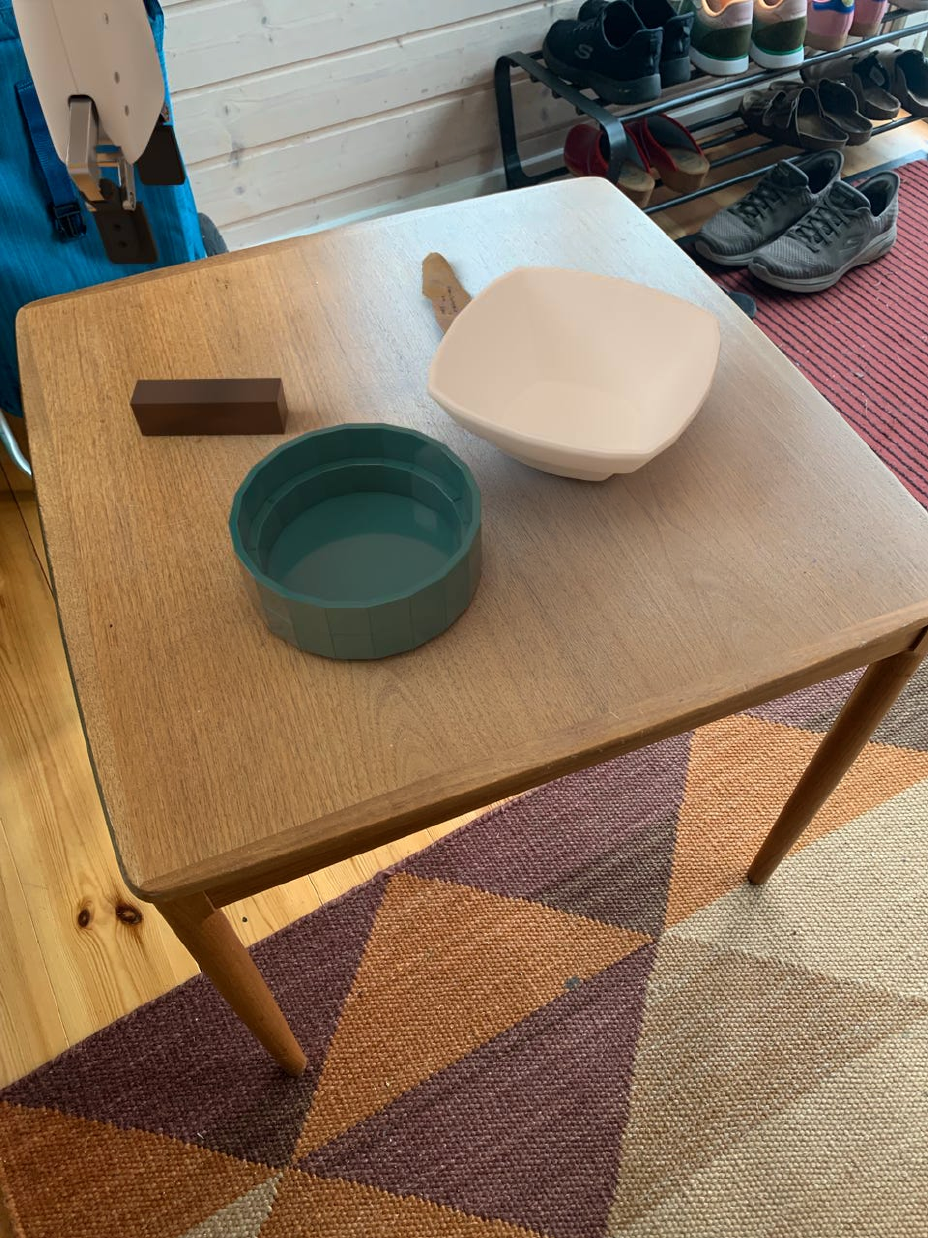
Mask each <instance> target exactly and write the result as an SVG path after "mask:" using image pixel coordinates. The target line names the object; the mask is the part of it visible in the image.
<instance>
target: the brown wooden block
mask: <svg viewBox="0 0 928 1238" xmlns="http://www.w3.org/2000/svg"><path fill="white" fill-rule="evenodd" d="M129 405H130V408H131V411H132V414H133V415H134V418H135V421H136V423H137V425H138V428H139V431H140V433H141V435H142V437H144V436H145V437H146V436H147V437H149V436H150V437H151V436H152V437H153V436H154V437H155V436H214V435H215V436H221V435H222V436H224V435H225V436H226V435H229V436H230V435H232V436H233V435H285V433H286V426H287V420H288V413H289V407H288V403H287V398H286V393H285V389H284V384H283V380H282V377H255V378H254V377H251V378H250V377H247V378H245V377H243V378H181V379H180V378H178V379H177V378H175V379H173V378H172V379H171V378H170V379H168V378H167V379H137V380H136V382H135V386H134V389H133V392H132V395H131V398H130V401H129Z"/></svg>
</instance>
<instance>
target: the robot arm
mask: <svg viewBox="0 0 928 1238" xmlns="http://www.w3.org/2000/svg"><path fill="white" fill-rule="evenodd" d="M11 5H12V8H13V13H14V17H15V21H16V25H17V29H18V33H19V38H20V40H21V45H22V48H23V53H24V55H25V58H26V61H27V65H28V69H29V71H30V77H31V78H32V81H33V85H34V88H35V91H36V95H37V97H38V101H39V104H40V107H41V110H42V113H43V116H44V119H45V122H46V126H47V128H48V131H49V134H50V137H51V140H52V143H53V146H54V148H55V151H56V154H57V155H58V158H59V159H60V161H61V162H62V163H63V164H65V167H66V170H67V174H68V175H69V177H70V178H71V179H72V181H73V183H74V184H75V185H76V187H77V193H78V195H79V196H80V197H81V199H82V200H83V201H84V202H85V203H84V204H85V206H86V208H87V210H88V211H89V212H91V215H92V217H93V220H94V223H95V226H96V228H97V231H98V234H99V237H100V240H101V242H102V245H103V247H104V251H105V254H106V256H107V259H108V261H109V262H110V263H111V264H113V265H155V264H157V263H158V261H159V259H160V253H159V249H158V247H157V243H156V240H155V237H154V234H153V231H152V227H151V223H150V221H149V218H148V214H147V211H146V208H145V205H144V201H142V200H141V201H138V200H137V197H136V186H135V175H134V174H135V173H134V165H135V169H136V172H137V175H138V178H139V181H140V183H141V184H142V185H144V186H146V187H151V186H183V185H185V182H186V179H187V175H186V171H185V168H184V167H185V166H184V165H183V161H182V156H181V153H180V148H179V145H178V142H177V138H176V135H175V134H176V133H175V130H174V125H173V124H170V123H171V111H170V108H169V105H168V103H167V101H166V100H165V93H166V89H165V81H164V76H163V71H162V66H161V62H160V58H159V57H160V56H159V53H158V50H157V46H156V42H155V39H154V35H153V31H152V28H151V24H150V20H149V17H148V13H147V10H146V7H145V6H146V5H145V3H144V0H11ZM98 146H115V147H118V151H98V148H99V147H98ZM101 168H117V171H118V173H117V174H118V182H119V185H118V184H117V183H115V182H114V181H113V180H112V179H111V178H109V177H103V172H102V170H101Z"/></svg>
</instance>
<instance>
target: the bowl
mask: <svg viewBox="0 0 928 1238" xmlns="http://www.w3.org/2000/svg"><path fill="white" fill-rule="evenodd" d="M722 345H723V341H722V335H721V329H720V324H719V320H718V318H717V316H716V315H715V314H714V313H711V312H710V311H708V310H706V309H704V308H702V307H701V306H698V305H697V304H695V303H694V302H692V301H689V300H687V299H686V298H685V299H684V298H682V297H680V296H677V295H674V294H671V293H669V292H666V291H663V290H660V289H658V288H654V287H650V286H647V285H643V284H641V283H637V282H634V281H631V280H627V279H624V278H620V277H614V276H609V275H605V274H600V273H594V272H590V271H586V270H579V269H571V268H565V267H564V268H563V267H557V266H535V265H533V266H532V265H521V266H516V267H514V268H512V269H510V270H509V271H507V272H505V273H503V274H502V275H500V276H498V277H497V278H495V279H493V280H492V281H491V282H490V283H489V284H488V285H487V286H485V287H484V288H483V289H482V290H481V291H480V292H479V293H477V294H476V295H475V296H474V297H473V298H471V302H470V303H469V304H468V305H467V306H466V307H465V308H464V309H463V310H462V311H461V313H460V314H459V315H458V316H457V317H456V318H455V319H454V321H453V323H452V324H451V326H450V327H449V329H448V331H447V332H446V334H445V333H444V335H443V337H442V339H441V340H440V342H439V344H438V347H437V349H436V352H435V353H434V355H433V357H432V359H431V362H430V364H429V365H428V366H429V367H428V376H427V384H426V389H427V395H428V396H429V397H430V398H431V399H432V400H433V401H434V403H436V405H438V406H439V407H440V408H441V409H442V410H443V411H444V412H445V414H447V415H448V416H449V417H450V418H451V419H452V421H454V422H455V423H457V425H459V426H460V427H462V428H463V429H465V430H466V431H467V432H469V433H470V434H472V435H474V436H476V437H478V438H480V439H482V440H485V442H488V443H490V444H492V445H493V446H494V447H495V448H496V449H497V450H498V451H499V452H501V453H502V454H504V455H505V456H508V457H510V458H511V459H514V460H515V461H518V462H520V463H521V464H524V465H525V466H529V467H531V468H532V469H533V468H534V469H536V470H538V471H541V472H544V473H548V474H551V475H556V476H560V477H565V478H572V479H578V480H584V481H590V482H591V481H592V482H602V481H605V480H607V479H608V478H609V477H611V476H612V475H613V474H631V473H634V472H635V471H637V470H639V469H641V468H642V467H643V466H644V465H646V464H647V463H649V462H650V461H651V460H652V459H654V458H655V457H656V456H658V455H659V454H660V453H662V452H663V451H665V450H666V449H667V448H669V447H670V446H671V445H673V444H674V443H676V442H677V440H678V439H679V438H680V436H681V435H682V434H683V432H685V430H686V429H687V428H688V427H689V426H690V424H691V422H692V421H693V420H694V419H695V417H696V416H697V415H698V414H699V411H700V409H702V406H703V405H704V403H705V401H706V400H707V398H708V396H709V395H710V392H711V389H712V387H713V383H714V380H715V378H716V374H717V370H718V367H719V361H720V357H721V350H722Z"/></svg>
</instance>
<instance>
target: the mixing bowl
mask: <svg viewBox="0 0 928 1238" xmlns="http://www.w3.org/2000/svg"><path fill="white" fill-rule="evenodd" d="M232 498H233V499H232V504H231V508H230V514H229V518H228V529H229V533H230V538H231V542H232V547H233V550H234V551H233V552H234V555H235V558H236V560H237V563H238V567H239V570H240V573H241V575H242V579H243V582H244V585H245V588H246V591H247V594H248V597H249V600H250V603H251V605H252V607H253V609H254V610H255V612H256V613H257V615H259V617H260V618H261V620H262V622H264V624H265V625H266V627H267V628H268V629H269V630H270V631H271V632H272V633H274V634H275V635H277V636H279V637H280V638H282V639H283V640H284V641H286V642H287V643H289V644H291V645H293V646H294V647H296V648H297V649H299V650H301V651H304V652H308V653H312V654H315V655H319V656H322V657H326V658H330V659H334V660H375V659H376V660H378V659H381V658H385V657H389V656H393V655H397V654H401V653H404V652H407V651H411V650H414V649H416V648H418V647H419V646H421V645H423V644H424V643H426V642H427V641H429V640H431V639H433V638H435V637H436V636H438V635H440V634H441V633H443V632H445V631H446V630H448V629H449V628H450V627H451V625H452V624H454V622H455V621H456V620H457V619H458V618H459V616H461V615H462V613H463V612H464V611H465V610H466V609H467V608H468V607H469V606H470V604H471V602H472V599H473V597H474V594H475V593H476V590H477V587H478V584H479V582H480V579H481V577H482V493H481V490H480V488H479V486H478V484H477V481H476V479H475V477H474V475H473V473H472V471H471V468H470V467H469V465H468V464H467V463H465V461H464V460H463V459H462V458H461V457H460V456H459V455H457V453H456V452H454V450H452V449H451V448H450V447H449V446H448V445H447V444H445V443H443V442H441V441H439V440H437V439H435V438H433V437H432V436H429V435H427V434H425V433H423V432H421V431H419V430H417V429H414V428H408V427H405V426H399V425H395V424H390V423H386V422H346V423H341V424H336V425H332V426H328V427H323V428H318V429H314V430H310V431H307V432H305V433H303V434H301V435H299V436H297V437H295V438H293V439H291V440H288V441H286V442H284V443H282V444H279V445H278V446H276V447H275V448H274V449H273V450H272V451H270V452H269V453H268V454H267V455H265V456H264V457H263V458H262V459H261V460H259V461H258V462H257V463H256V464H255V465H253V466H252V467H251V468H250V470H249V472H248V473H247V475H246V476H245V478H244V479H243V480H242V482H241V483H240V485H239V487H238V488H237V490H235V493H234V495H233V497H232Z"/></svg>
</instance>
